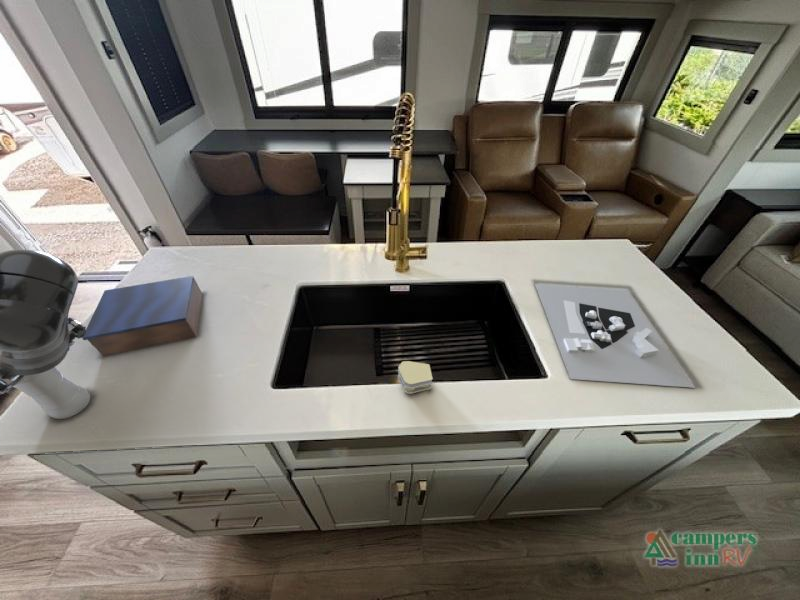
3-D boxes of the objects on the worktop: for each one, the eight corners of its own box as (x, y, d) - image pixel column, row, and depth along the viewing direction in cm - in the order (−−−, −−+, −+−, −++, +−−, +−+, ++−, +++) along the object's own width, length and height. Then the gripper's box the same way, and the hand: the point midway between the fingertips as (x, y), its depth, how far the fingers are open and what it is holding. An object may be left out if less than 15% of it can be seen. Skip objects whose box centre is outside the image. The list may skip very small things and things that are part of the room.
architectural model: (534, 284, 102) (536, 278, 100) (627, 290, 101) (630, 284, 99) (569, 379, 76) (573, 374, 74) (694, 388, 75) (701, 383, 74)
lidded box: (105, 358, 77) (87, 339, 72) (124, 311, 88) (109, 292, 83) (198, 339, 82) (186, 320, 77) (204, 296, 93) (194, 278, 89)
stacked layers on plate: (431, 367, 77) (433, 353, 74) (439, 401, 71) (442, 387, 67) (389, 371, 76) (389, 356, 73) (393, 405, 70) (394, 392, 66)
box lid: (84, 340, 72) (81, 338, 71) (106, 292, 83) (104, 290, 83) (186, 320, 77) (185, 317, 76) (194, 278, 89) (193, 275, 88)
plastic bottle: (59, 401, 68) (-22, 339, 55) (98, 389, 71) (30, 327, 57) (50, 428, 64) (-40, 368, 51) (92, 415, 66) (16, 354, 53)
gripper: (58, 290, 48) (57, 323, 58) (-71, 365, 38) (-45, 388, 48) (105, 324, 51) (96, 350, 61) (-4, 402, 41) (8, 417, 51)
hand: (34, 367), depth 55 cm, fingers open, 8 cm apart
